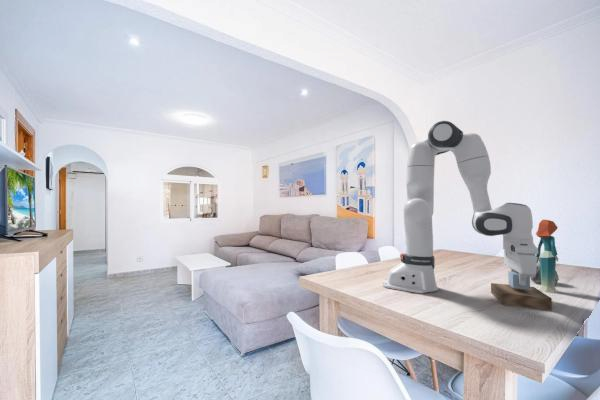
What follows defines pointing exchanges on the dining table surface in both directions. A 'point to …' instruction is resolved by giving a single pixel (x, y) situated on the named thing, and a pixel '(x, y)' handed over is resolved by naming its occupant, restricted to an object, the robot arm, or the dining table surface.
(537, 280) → the stone
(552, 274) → the sculpture
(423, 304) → the dining table surface
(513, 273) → the slate block
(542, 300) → the walnut pedestal
